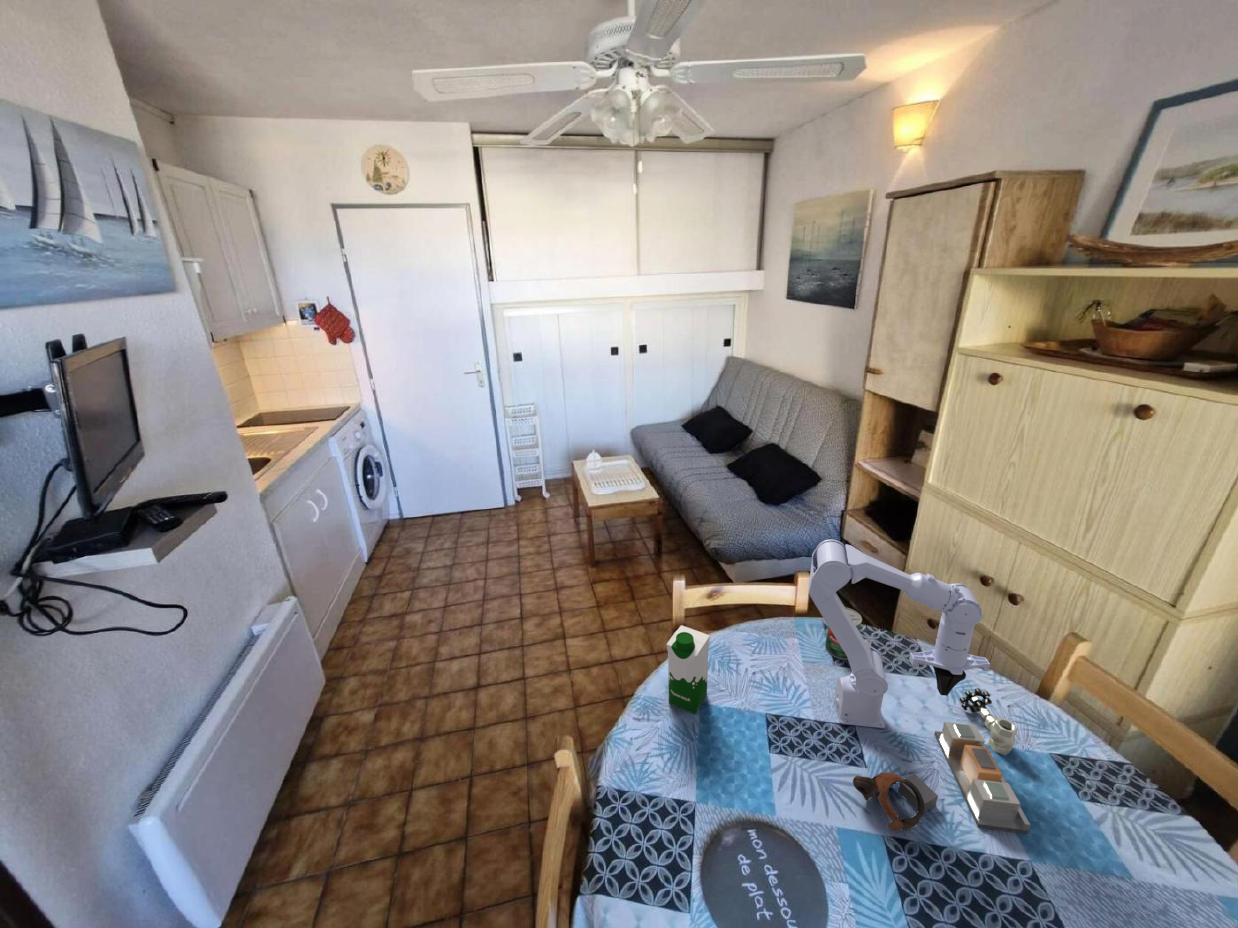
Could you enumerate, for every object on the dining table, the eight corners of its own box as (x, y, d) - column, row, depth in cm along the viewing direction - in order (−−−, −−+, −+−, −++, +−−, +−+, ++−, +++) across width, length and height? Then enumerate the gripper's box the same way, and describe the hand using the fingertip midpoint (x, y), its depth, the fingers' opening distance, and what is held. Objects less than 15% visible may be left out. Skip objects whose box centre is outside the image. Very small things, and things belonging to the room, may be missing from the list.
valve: (1022, 756, 105) (986, 709, 117) (1030, 733, 103) (992, 687, 114) (989, 756, 106) (956, 709, 117) (996, 733, 103) (962, 687, 115)
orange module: (973, 790, 98) (979, 770, 96) (960, 762, 104) (965, 743, 102) (996, 792, 97) (1003, 773, 96) (981, 764, 103) (987, 745, 101)
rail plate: (977, 827, 93) (985, 805, 91) (934, 734, 111) (939, 714, 109) (1026, 833, 91) (1035, 811, 89) (974, 738, 110) (980, 718, 107)
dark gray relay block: (920, 815, 95) (923, 804, 94) (897, 791, 100) (900, 781, 99) (935, 806, 97) (938, 795, 96) (912, 783, 101) (914, 773, 100)
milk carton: (663, 703, 122) (662, 637, 115) (680, 679, 129) (680, 615, 122) (697, 719, 117) (698, 651, 110) (712, 692, 124) (714, 627, 117)
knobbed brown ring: (905, 785, 101) (927, 779, 95) (907, 840, 96) (931, 839, 89) (844, 763, 103) (863, 756, 97) (843, 816, 97) (862, 813, 91)
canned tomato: (828, 658, 133) (833, 624, 129) (822, 638, 141) (826, 605, 137) (860, 661, 132) (865, 627, 128) (852, 640, 139) (857, 607, 135)
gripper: (922, 652, 102) (912, 703, 107) (1002, 657, 99) (989, 709, 104) (909, 629, 108) (901, 678, 113) (984, 633, 105) (972, 683, 110)
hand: (942, 691), depth 109 cm, fingers closed
